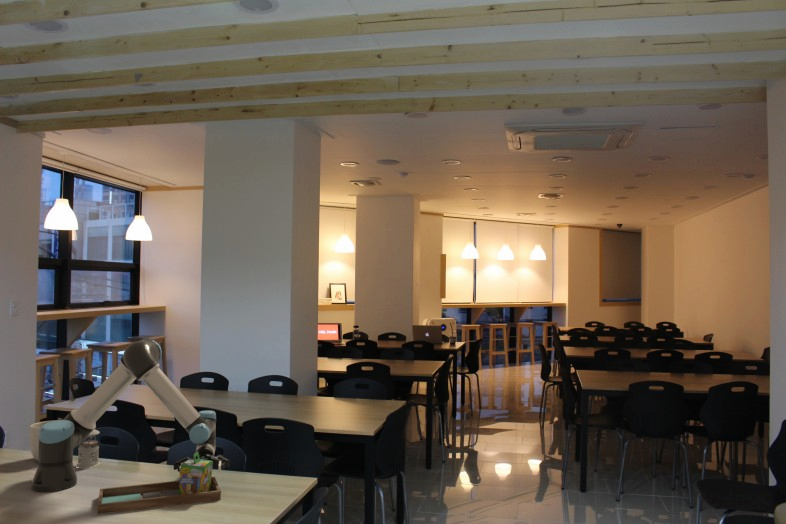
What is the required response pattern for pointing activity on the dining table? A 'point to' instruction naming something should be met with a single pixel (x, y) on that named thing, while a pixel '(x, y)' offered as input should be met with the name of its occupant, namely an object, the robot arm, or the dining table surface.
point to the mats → (158, 493)
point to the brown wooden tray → (153, 501)
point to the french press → (88, 452)
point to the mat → (121, 498)
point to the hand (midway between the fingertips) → (200, 470)
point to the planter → (35, 437)
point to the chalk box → (195, 476)
